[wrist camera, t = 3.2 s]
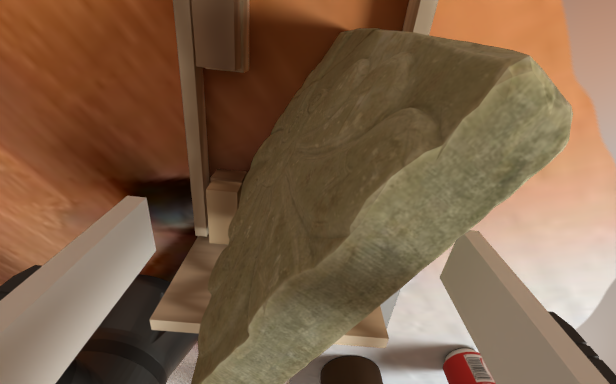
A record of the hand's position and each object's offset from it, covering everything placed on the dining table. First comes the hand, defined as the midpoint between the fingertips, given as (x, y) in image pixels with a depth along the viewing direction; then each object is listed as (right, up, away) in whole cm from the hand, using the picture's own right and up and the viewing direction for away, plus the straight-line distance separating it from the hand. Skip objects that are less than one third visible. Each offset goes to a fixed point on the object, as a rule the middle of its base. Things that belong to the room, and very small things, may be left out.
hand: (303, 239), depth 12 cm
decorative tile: (0, +8, +15) cm, 17 cm away
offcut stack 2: (-8, +1, +19) cm, 20 cm away
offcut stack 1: (-6, +16, +11) cm, 20 cm away
